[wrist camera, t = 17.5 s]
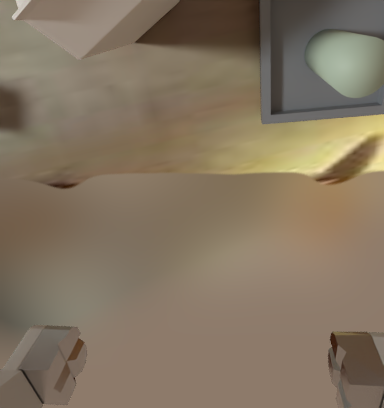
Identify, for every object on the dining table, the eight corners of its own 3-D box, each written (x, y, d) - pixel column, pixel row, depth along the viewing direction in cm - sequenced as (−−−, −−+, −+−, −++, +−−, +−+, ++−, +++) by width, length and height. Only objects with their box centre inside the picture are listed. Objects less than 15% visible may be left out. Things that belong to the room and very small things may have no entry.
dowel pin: (305, 31, 34) (334, 40, 24) (349, 26, 34) (398, 32, 24) (303, 75, 37) (329, 100, 26) (345, 71, 36) (387, 95, 26)
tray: (258, -16, 33) (259, -17, 32) (408, -39, 31) (418, -42, 29) (261, 119, 40) (262, 124, 39) (383, 108, 38) (390, 113, 36)
